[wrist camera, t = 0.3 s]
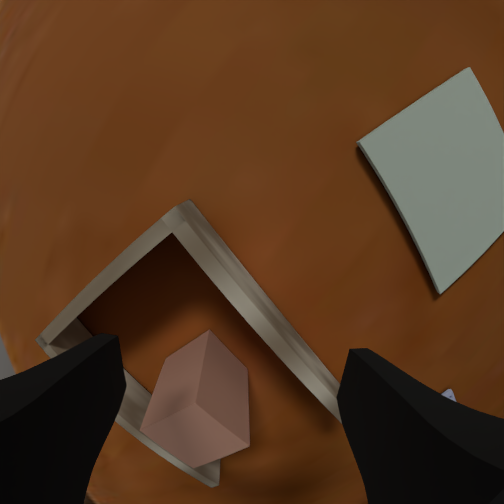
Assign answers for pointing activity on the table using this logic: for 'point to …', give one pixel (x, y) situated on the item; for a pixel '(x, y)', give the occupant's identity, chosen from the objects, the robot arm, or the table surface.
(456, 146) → the mat
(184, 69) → the table surface
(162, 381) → the terracotta block
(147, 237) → the slot housing
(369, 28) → the table surface
